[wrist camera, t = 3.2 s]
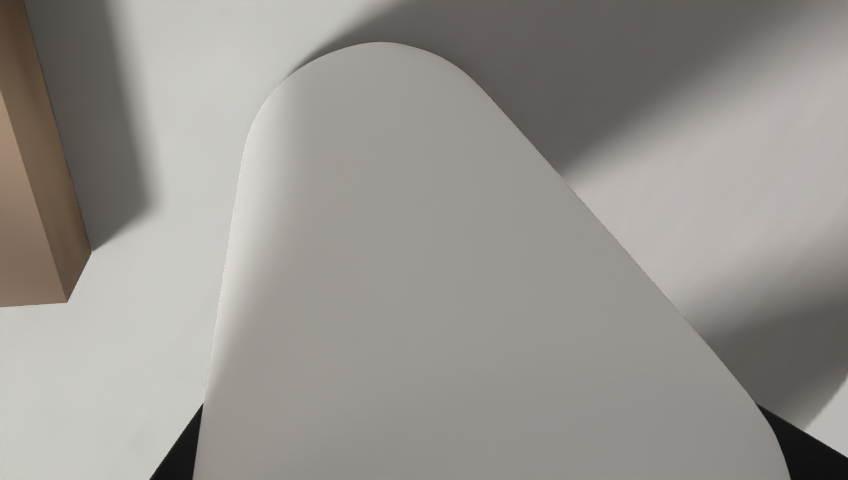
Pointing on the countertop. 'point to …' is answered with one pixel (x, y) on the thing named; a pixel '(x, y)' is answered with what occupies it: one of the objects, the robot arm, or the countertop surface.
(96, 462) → the countertop surface
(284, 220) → the can
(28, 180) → the cutting board
